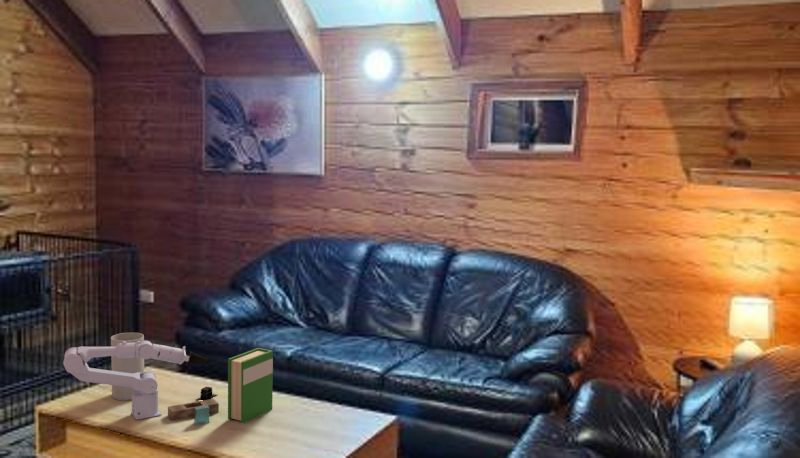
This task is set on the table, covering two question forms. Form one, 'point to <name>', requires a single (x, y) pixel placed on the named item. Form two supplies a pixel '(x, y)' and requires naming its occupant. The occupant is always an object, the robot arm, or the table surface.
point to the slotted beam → (191, 409)
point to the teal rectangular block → (201, 415)
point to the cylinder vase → (126, 364)
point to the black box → (206, 394)
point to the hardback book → (250, 384)
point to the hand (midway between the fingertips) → (204, 360)
